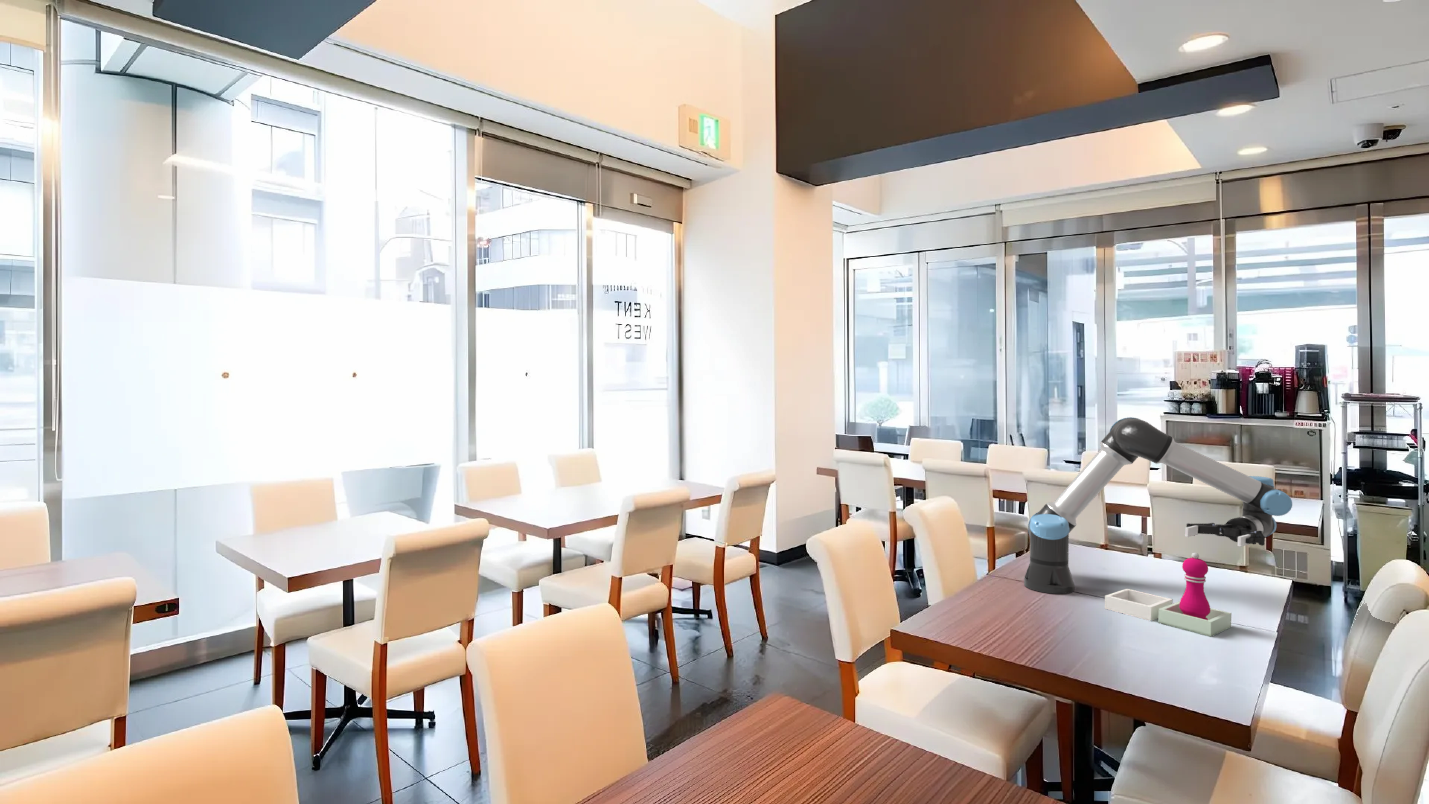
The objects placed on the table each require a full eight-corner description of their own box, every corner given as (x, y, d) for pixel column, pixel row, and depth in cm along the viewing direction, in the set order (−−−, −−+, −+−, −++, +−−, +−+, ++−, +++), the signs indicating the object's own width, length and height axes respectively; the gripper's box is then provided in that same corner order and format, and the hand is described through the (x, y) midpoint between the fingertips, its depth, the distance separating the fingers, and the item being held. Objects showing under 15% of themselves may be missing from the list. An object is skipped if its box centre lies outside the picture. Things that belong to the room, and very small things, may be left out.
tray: (1158, 623, 199) (1158, 609, 199) (1179, 614, 206) (1179, 600, 206) (1210, 636, 188) (1210, 622, 188) (1231, 627, 196) (1231, 613, 196)
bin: (1104, 608, 212) (1104, 595, 212) (1126, 601, 219) (1126, 588, 219) (1150, 621, 201) (1151, 607, 201) (1172, 612, 208) (1172, 599, 208)
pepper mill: (1215, 628, 193) (1216, 556, 193) (1186, 626, 195) (1186, 555, 194) (1202, 619, 200) (1203, 550, 200) (1174, 618, 202) (1175, 549, 201)
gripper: (1292, 550, 207) (1262, 559, 196) (1197, 533, 228) (1165, 540, 217) (1293, 524, 207) (1263, 532, 195) (1198, 510, 228) (1166, 516, 216)
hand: (1211, 536), depth 206 cm, fingers open, 13 cm apart
